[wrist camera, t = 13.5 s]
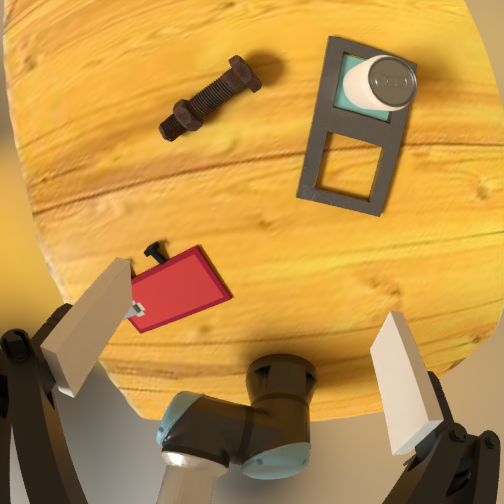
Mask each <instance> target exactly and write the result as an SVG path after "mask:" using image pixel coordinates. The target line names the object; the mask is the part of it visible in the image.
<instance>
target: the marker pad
mask: <svg viewBox="0 0 504 504" xmlns="http://www.w3.org/2000/svg"><path fill="white" fill-rule="evenodd" d="M364 61H365V60H362V59H359V58H356V57H352V56H349V55H345V54H343V60H342V65H341V70H340V76H339V81H338V86H337V91H336V96H335V101H334V106H335V107H339V108H342V109H346V110H350V111H353V112H357V113H360V114H364V115H367V116H370V117H374V118H377V119H380V120H383V121H386V122H387V119H388V114H389V111H383V110H370V109H362V108H359V107H357V106H355V105H354V104H352V103H351V102H350V101H349V100H348V98H347V97H346V95H345V92H344V88H343V80H344V77H345V75H346V74H347V72H348V71H349V70H350V69H352V68H353V67H355V66H357V65H358V64H360V63H362V62H364Z"/></svg>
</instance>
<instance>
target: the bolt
mask: <svg viewBox="0 0 504 504" xmlns="http://www.w3.org/2000/svg"><path fill="white" fill-rule="evenodd" d="M229 63H230V65H231V67H232V68H231V69H229V70H228V71H226V72H225V73H224V74H223V75H222V76H220V78H218V80H216V81H214V83H213V82H212V84H209V85H210V86H207V87H205V88H204V90H202V92H201V91H200V93H198V95H197V94H196V96H194V98H192V99H190V100H189V101H188V100H184V99H181V100H180V101H178V102H177V103H176V104H175V105H174V107H173V114H172V115H170V117H168V118H167V119H166V120H165V121H163V122H162V123H161V124H160V126H159V131H160V133H161V135H162V137H163V138H164V139H165V140H168V141H171V142H172V141H174V140H175V139H176V138H177V137H179V136H180V135H181V134H182V133H184V132H185V131H186V130H187V129H188V130H190V131H196V130H198V129H199V128H200V127H201V126H202V124H203V118H202V117H204V116H206V114H208V113H210V111H212V110H214V109H215V108H216V107H218V106H219V105H220V104H222V103H223V102H224V101H226V100H228V98H230V97H232V96H233V95H234V94H236V93H239V92H240V91H242V90H243V89H245V88H246V87H249V88H250V89H251V90H252V92H253V93H255V92H256V91H258V90H259V89H261V86H262V84H261V82H260V80H259V79H258V78H257V76H256V75H255V74H254V72H253V71H252V70H251V68H250V67H249V66H248V65H247V64H246V62H245V61H244V60H243V59H242V58H241V57H240V56H238V55H235V56H234V57H232V58H231V59H229Z"/></svg>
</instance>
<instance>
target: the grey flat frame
mask: <svg viewBox="0 0 504 504" xmlns="http://www.w3.org/2000/svg"><path fill="white" fill-rule="evenodd" d="M343 53H346V54H350V55H353V56H357V57H360V58H363V59H366V60H368V59H370V58H372V57H375V56H379V55H388V56H392V57H396V56H394V55H391V54H388V53H385V52H383V51H380V50H377V49H374V48H371V47H368V46H364V45H361V44H358V43H354V42H351V41H348V40H344V39H340V38H336V37H332V36H329V37H328V41H327V46H326V52H325V57H324V63H323V68H322V73H321V78H320V83H319V89H318V94H317V99H316V104H315V109H314V114H313V118H312V123H311V128H310V133H309V138H308V142H307V147H306V152H305V157H304V161H303V166H302V170H301V175H300V179H299V184H298V188H297V193H296V198H301V199H305V200H310V201H315V202H319V203H323V204H328V205H332V206H337V207H341V208H345V209H349V210H354V211H358V212H362V213H366V214H370V215H374V216H378V217H380V215H381V211H382V208H383V205H384V202H385V199H386V195H387V192H388V189H389V185H390V182H391V178H392V175H393V171H394V167H395V164H396V160H397V156H398V152H399V148H400V144H401V140H402V136H403V132H404V128H405V123H406V119H407V114H408V110H409V105H410V103H409V104H408V105H407V106H405V107H404V108H402V109H399V110H395V111H390V115H389V120H388V123H385V122H382V121H379V120H375V119H372V118H369V117H366V116H362V115H359V114H355V113H352V112H348V111H345V110H341V109H337V108H333V103H334V99H335V94H336V89H337V83H338V78H339V73H340V68H341V62H342V57H343ZM396 58H398V59H401V60H402V61H404V62H405V63H406V64H408V65H409V67H410V68H411V69H412V70H413V72H414V74H415V73H416V67H417V64H414V63H412V62H409V61H407V60H404V59H402V58H399V57H396ZM327 132H332V133H336V134H339V135H343V136H347V137H351V138H354V139H358V140H361V141H365V142H368V143H372V144H375V145H378V146H382V149H381V153H380V157H379V161H378V165H377V169H376V172H375V176H374V180H373V183H372V187H371V190H370V194H369V197H368V200H365V199H361V198H357V197H353V196H349V195H345V194H341V193H337V192H332V191H328V190H324V189H319V188H315V184H316V180H317V176H318V172H319V168H320V163H321V159H322V154H323V150H324V146H325V141H326V136H327Z"/></svg>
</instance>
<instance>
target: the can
mask: <svg viewBox="0 0 504 504" xmlns="http://www.w3.org/2000/svg"><path fill="white" fill-rule="evenodd" d="M343 88H344V92H345V95H346V97H347V98H348V100H349V101H350V102H351V103H352V104H354V105H355V106H357V107H359V108H362V109H370V110H383V111H395V110H399V109H402V108H404V107H405V106H407V105H408V104H409V103H410V102H411V101H412V100H413V99H414V97H415V95H416V92H417V80H416V77H415V74H414V72H413V70H412V69H411V68H410V67H409V65H408V64H406V63H405V62H404V61H402V60H401V59H398V58H396V57H392V56H388V55H379V56H375V57H372V58H370V59H368V60H366V61H364V62H362V63H360V64H358V65H357V66H355V67H353V68H352V69H350V70H349V71H348V72H347V74H346V75H345V77H344V80H343Z"/></svg>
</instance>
